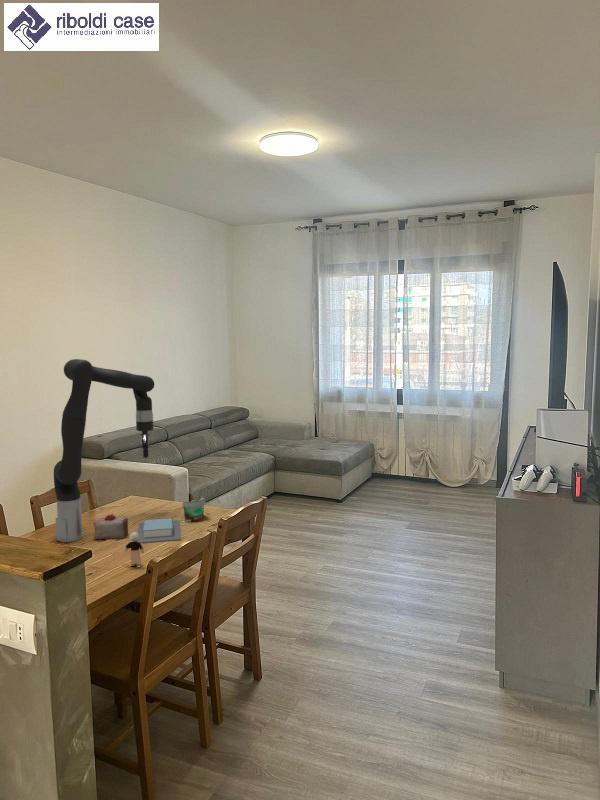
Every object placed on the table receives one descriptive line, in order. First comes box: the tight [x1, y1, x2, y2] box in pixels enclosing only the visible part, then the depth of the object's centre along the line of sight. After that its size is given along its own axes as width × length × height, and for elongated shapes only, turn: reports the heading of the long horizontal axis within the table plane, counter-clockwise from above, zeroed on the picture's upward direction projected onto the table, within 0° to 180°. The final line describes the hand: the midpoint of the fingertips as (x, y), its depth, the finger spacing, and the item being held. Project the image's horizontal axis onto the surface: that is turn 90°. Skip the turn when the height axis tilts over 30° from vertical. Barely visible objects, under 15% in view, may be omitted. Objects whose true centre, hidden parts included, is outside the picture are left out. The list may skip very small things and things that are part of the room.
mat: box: [136, 519, 182, 545], centre depth 254 cm, size 26×18×1 cm
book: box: [143, 517, 174, 539], centre depth 252 cm, size 4×12×14 cm
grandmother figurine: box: [124, 531, 145, 567], centre depth 216 cm, size 8×4×13 cm, turn 88°
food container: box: [182, 495, 206, 523], centre depth 269 cm, size 12×6×10 cm, turn 146°
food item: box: [93, 513, 129, 540], centre depth 247 cm, size 14×8×10 cm, turn 91°
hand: (146, 457), depth 270 cm, fingers closed
